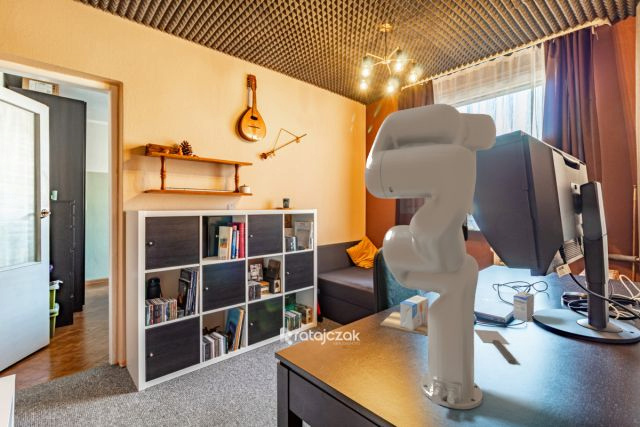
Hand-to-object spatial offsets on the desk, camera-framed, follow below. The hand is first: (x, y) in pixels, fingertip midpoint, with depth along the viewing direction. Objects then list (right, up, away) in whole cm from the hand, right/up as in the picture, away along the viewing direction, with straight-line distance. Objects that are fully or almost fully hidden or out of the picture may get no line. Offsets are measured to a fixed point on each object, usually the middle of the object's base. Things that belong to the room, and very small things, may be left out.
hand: (461, 240), depth 83 cm
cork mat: (-8, -32, +23) cm, 40 cm away
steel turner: (+14, -32, +6) cm, 35 cm away
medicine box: (+36, -32, +27) cm, 55 cm away
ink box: (-11, -27, +17) cm, 34 cm away
